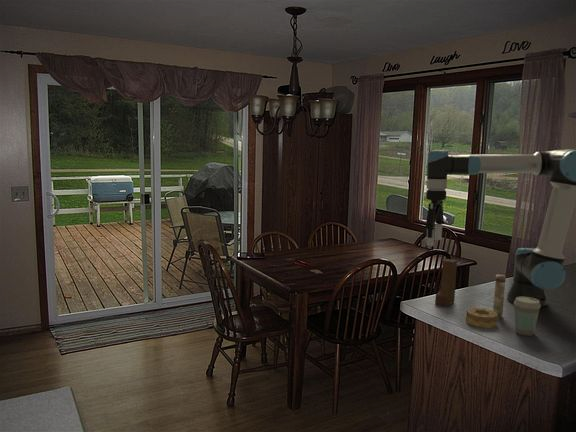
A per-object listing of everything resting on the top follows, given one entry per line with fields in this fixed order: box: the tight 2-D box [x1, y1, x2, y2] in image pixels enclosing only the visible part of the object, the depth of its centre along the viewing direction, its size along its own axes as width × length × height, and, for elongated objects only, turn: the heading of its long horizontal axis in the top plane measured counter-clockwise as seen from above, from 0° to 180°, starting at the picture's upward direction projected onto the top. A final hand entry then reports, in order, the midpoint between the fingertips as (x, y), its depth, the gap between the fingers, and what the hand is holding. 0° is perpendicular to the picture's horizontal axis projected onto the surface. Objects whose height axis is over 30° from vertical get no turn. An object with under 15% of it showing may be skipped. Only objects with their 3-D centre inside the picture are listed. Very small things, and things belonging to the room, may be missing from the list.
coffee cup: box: [513, 297, 542, 337], centre depth 169 cm, size 8×9×12 cm
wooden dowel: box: [492, 274, 507, 318], centre depth 185 cm, size 4×4×16 cm
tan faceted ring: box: [465, 306, 499, 329], centre depth 178 cm, size 10×10×4 cm
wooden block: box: [434, 258, 458, 308], centre depth 198 cm, size 9×4×18 cm, turn 137°
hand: (434, 242), depth 192 cm, fingers open, 13 cm apart
